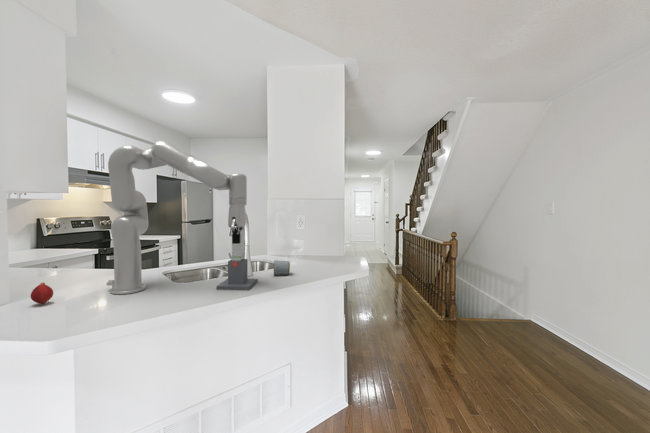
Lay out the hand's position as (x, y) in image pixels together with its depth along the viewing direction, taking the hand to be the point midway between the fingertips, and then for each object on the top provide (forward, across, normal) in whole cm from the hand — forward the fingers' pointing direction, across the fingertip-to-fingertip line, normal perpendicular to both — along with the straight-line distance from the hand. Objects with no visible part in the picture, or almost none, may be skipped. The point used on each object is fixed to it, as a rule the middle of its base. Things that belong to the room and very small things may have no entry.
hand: (237, 242), depth 132 cm
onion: (+20, +30, -61) cm, 71 cm away
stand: (+20, 0, 0) cm, 20 cm away
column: (+12, 0, 0) cm, 12 cm away
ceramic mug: (+20, -23, +15) cm, 34 cm away
